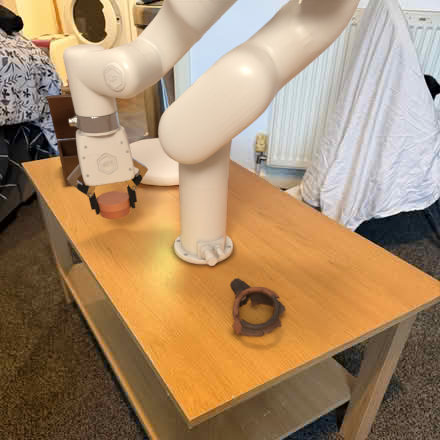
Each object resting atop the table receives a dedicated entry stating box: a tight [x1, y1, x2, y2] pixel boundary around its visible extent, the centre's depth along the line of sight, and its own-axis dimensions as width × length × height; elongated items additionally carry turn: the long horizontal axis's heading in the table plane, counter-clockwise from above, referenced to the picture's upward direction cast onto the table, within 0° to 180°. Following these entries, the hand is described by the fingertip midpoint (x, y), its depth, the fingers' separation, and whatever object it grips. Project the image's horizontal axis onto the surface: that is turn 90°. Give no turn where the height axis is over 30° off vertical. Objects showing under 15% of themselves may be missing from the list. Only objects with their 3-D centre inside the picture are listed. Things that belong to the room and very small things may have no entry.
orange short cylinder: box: [96, 190, 133, 220], centre depth 87 cm, size 7×7×3 cm
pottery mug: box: [229, 277, 286, 338], centre depth 69 cm, size 12×10×8 cm
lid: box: [46, 86, 79, 141], centre depth 110 cm, size 14×13×5 cm
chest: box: [56, 138, 86, 187], centre depth 114 cm, size 14×13×8 cm
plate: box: [129, 137, 179, 187], centre depth 118 cm, size 28×6×27 cm
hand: (114, 208), depth 88 cm, fingers closed on orange short cylinder, 6 cm apart
